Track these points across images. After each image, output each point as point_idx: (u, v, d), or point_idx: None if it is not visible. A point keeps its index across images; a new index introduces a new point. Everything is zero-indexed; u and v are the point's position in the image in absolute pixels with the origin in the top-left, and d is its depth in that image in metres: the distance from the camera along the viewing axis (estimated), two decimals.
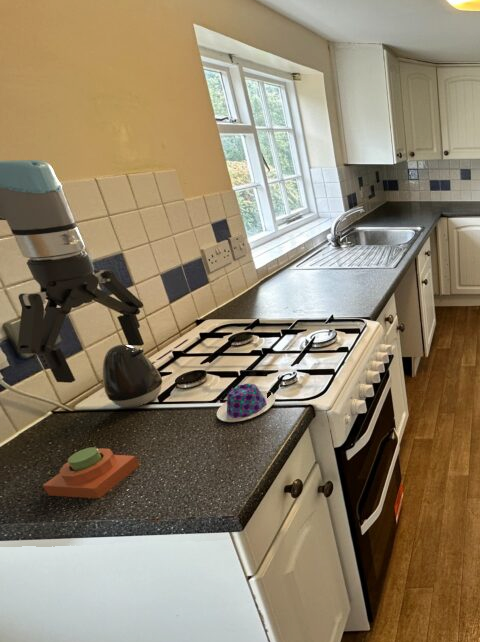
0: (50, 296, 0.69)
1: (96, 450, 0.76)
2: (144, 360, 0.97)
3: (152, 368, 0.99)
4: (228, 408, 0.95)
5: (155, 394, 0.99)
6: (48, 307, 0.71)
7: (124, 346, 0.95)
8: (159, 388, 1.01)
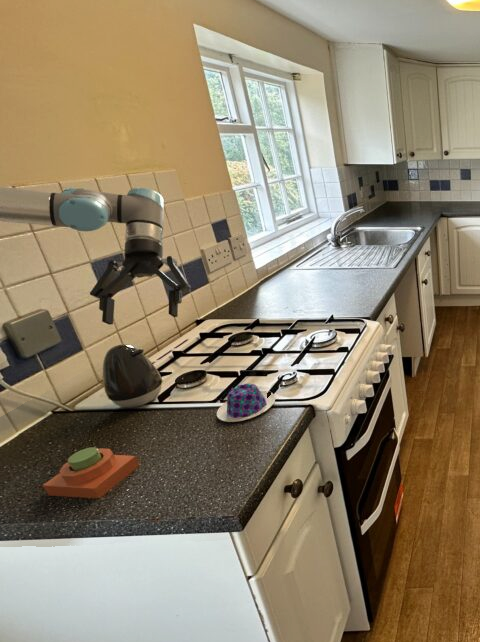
0: (163, 264, 1.09)
1: (96, 450, 0.76)
2: (144, 360, 0.97)
3: (152, 368, 0.99)
4: (228, 408, 0.95)
5: (155, 394, 0.99)
6: (157, 269, 1.07)
7: (124, 346, 0.95)
8: (159, 388, 1.01)
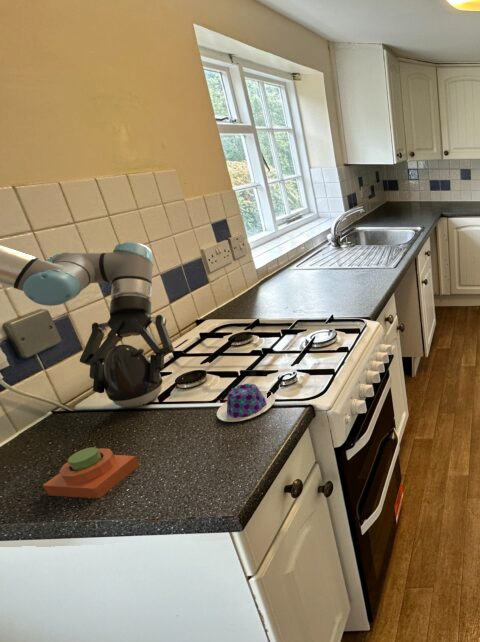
0: (151, 322, 1.03)
1: (96, 450, 0.76)
2: (144, 360, 0.97)
3: None
4: (228, 408, 0.95)
5: (155, 394, 1.00)
6: (143, 329, 1.00)
7: (124, 346, 0.95)
8: (159, 388, 1.01)
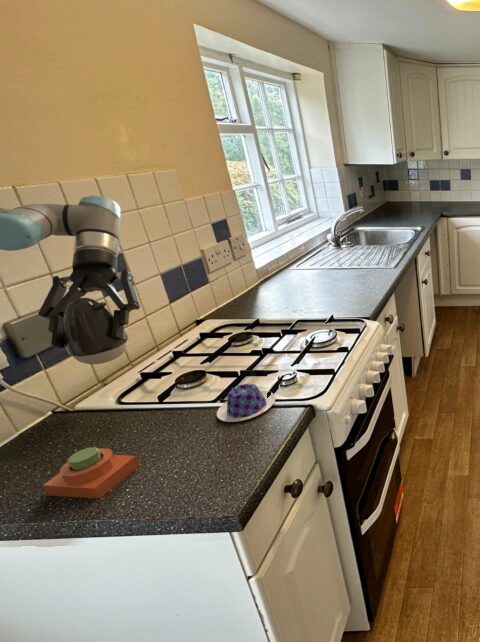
0: (117, 277, 0.99)
1: (96, 450, 0.76)
2: (107, 315, 0.93)
3: None
4: (228, 408, 0.95)
5: (120, 351, 0.95)
6: (108, 283, 0.96)
7: (85, 299, 0.91)
8: (124, 346, 0.96)
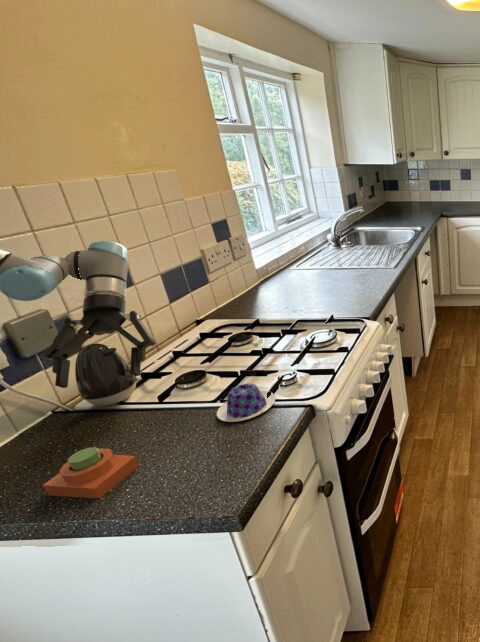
0: None
1: (96, 450, 0.76)
2: (117, 359, 0.98)
3: (125, 367, 0.99)
4: (228, 408, 0.95)
5: (129, 393, 1.00)
6: (119, 325, 1.01)
7: (97, 345, 0.95)
8: (133, 387, 1.01)
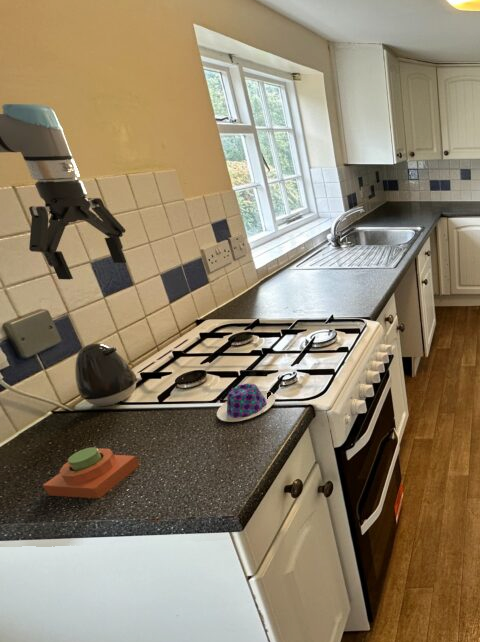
0: (53, 210, 0.91)
1: (96, 450, 0.76)
2: (117, 359, 0.98)
3: (125, 367, 0.99)
4: (228, 408, 0.95)
5: (129, 393, 1.00)
6: (51, 219, 0.93)
7: (97, 345, 0.95)
8: (133, 387, 1.01)
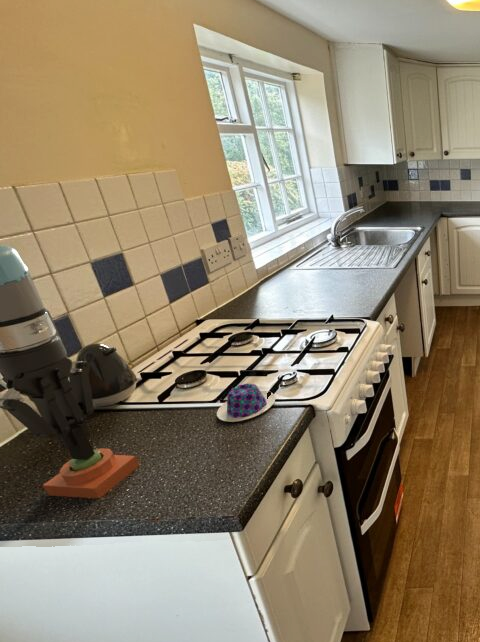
0: (22, 390, 0.65)
1: (97, 453, 0.76)
2: (117, 359, 0.98)
3: (125, 367, 0.99)
4: (228, 408, 0.95)
5: (129, 393, 1.00)
6: (32, 397, 0.68)
7: (97, 345, 0.95)
8: (133, 387, 1.01)
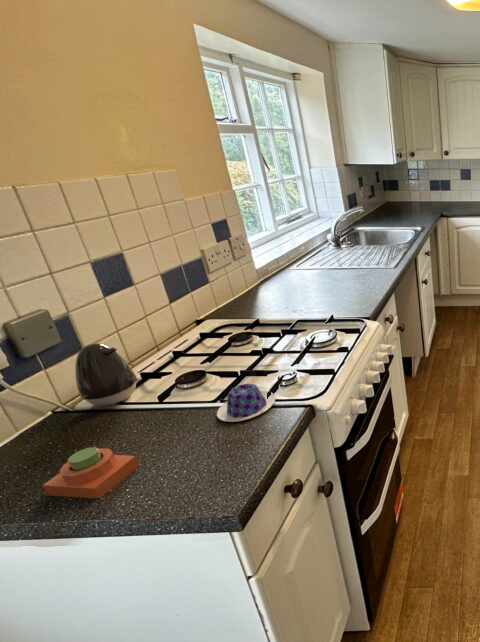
0: None
1: (96, 450, 0.76)
2: (117, 359, 0.98)
3: (125, 367, 0.99)
4: (228, 408, 0.95)
5: (129, 393, 1.00)
6: None
7: (97, 345, 0.95)
8: (133, 387, 1.01)
